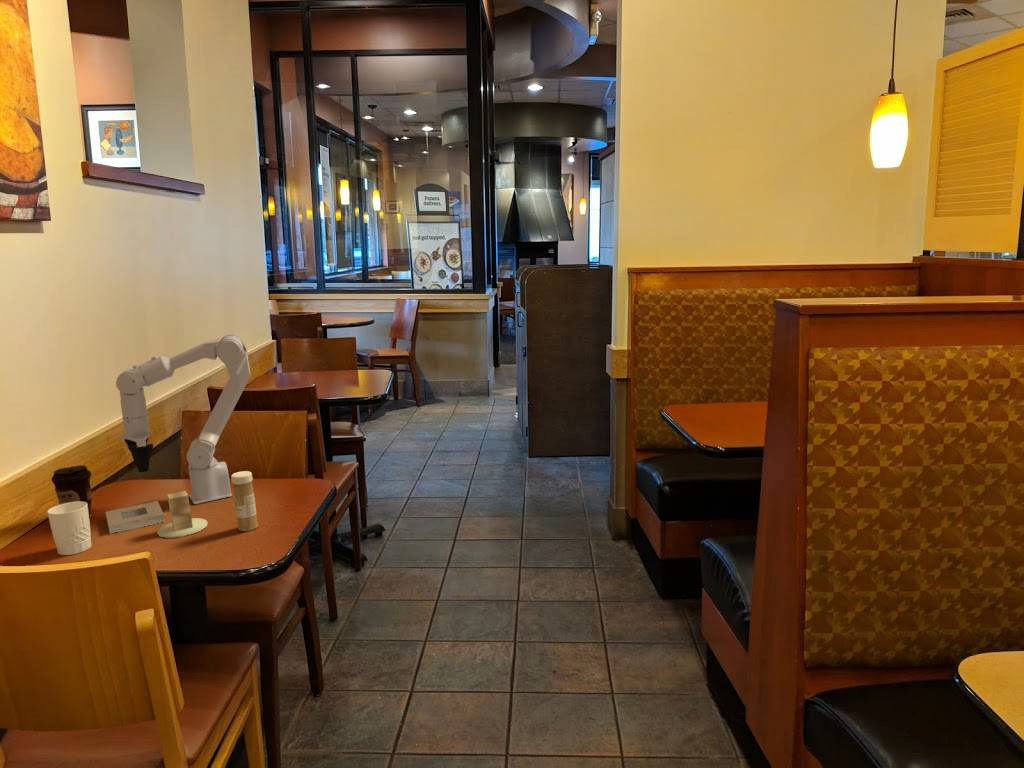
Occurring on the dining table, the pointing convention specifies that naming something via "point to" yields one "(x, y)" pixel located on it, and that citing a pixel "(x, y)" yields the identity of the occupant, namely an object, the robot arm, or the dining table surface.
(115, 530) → the socket block
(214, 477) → the robot arm
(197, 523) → the mat
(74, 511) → the white cup
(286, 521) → the dining table surface
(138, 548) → the dining table surface
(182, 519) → the square peg
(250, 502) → the sprinkles bottle
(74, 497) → the coffee cup
